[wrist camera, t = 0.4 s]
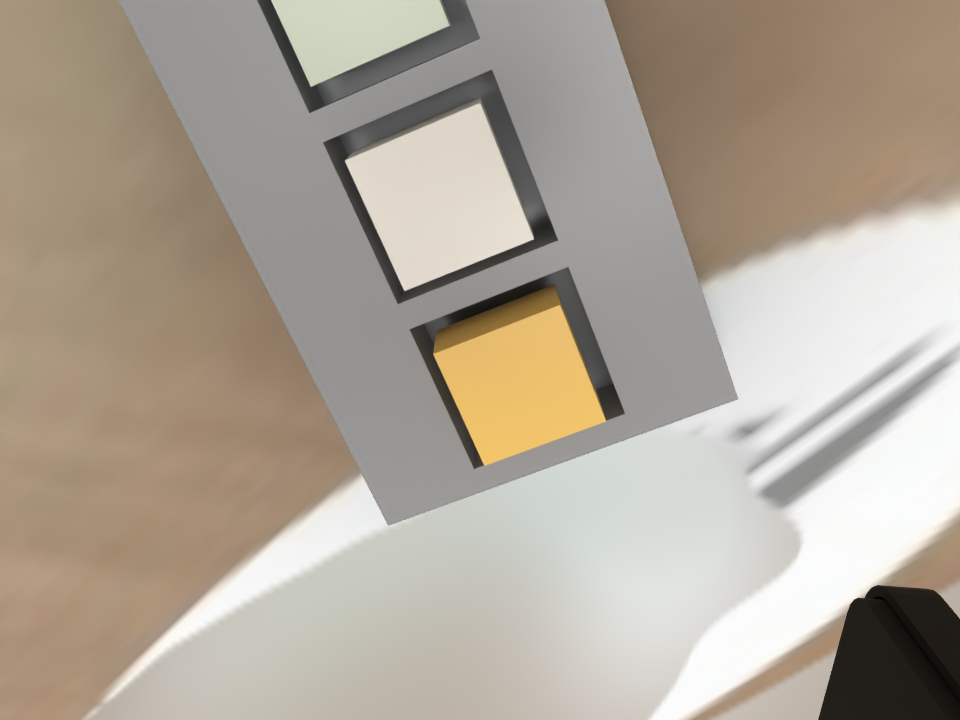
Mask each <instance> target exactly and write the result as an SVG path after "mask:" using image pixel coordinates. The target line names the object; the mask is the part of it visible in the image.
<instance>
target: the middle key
mask: <svg viewBox="0 0 960 720" xmlns="http://www.w3.org/2000/svg"><path fill="white" fill-rule="evenodd" d="M345 163H346V165H347V167H348V169H349V171H350V173H351V176H352V178H353V180H354V182H355V184H356V187H357V189H358V191H359V193H360V195H361V197H362V200H363V202H364V204H365V206H366V208H367V211H368V213H369V215H370V217H371V219H372V222H373V224H374V226H375V228H376V230H377V232H378V235H379V237H380V239H381V241H382V243H383V246H384V248H385V250H386V252H387V254H388V256H389V259H390V261H391V263H392V265H393V267H394V270H395V272H396V274H397V276H398V278H399V280H400V283H401V285H402V287H403V289H404V291H406V290H409V289H411V288H414V287H416V286H419V285H421V284H424V283H426V282H429V281H431V280H434V279H436V278H439V277H441V276H444V275H446V274H449V273H451V272H454V271H456V270H459V269H461V268H464V267H466V266H469V265H471V264H474V263H476V262H479V261H481V260H484V259H486V258H489V257H491V256H494V255H496V254H499V253H501V252H504V251H506V250H509V249H511V248H514V247H516V246H519V245H521V244H524V243H526V242H529V241H531V240H534V237H533V233H532V229H531V225H530V222H529V219H528V216H527V214H526V211H525V209H524V206H523V204H522V201H521V199H520V196H519V194H518V191H517V189H516V186H515V184H514V181H513V178H512V176H511V173H510V171H509V168H508V166H507V163H506V161H505V158H504V156H503V153H502V151H501V148H500V146H499V143H498V140H497V138H496V135H495V133H494V130H493V128H492V125H491V123H490V120H489V118H488V115H487V113H486V110H485V108H484V105H483V102H482V100H481V97H479V98H476V99H474V100H472V101H469V102H467V103H465V104H462V105H460V106H458V107H455V108H453V109H451V110H448V111H446V112H444V113H441V114H439V115H437V116H434V117H432V118H430V119H427V120H425V121H423V122H420V123H418V124H416V125H413V126H411V127H409V128H406V129H404V130H402V131H399V132H397V133H395V134H392V135H390V136H388V137H385V138H383V139H380V140H378V141H376V142H373V143H371V144H369V145H366V146H364V147H362V148H359V149H357V150H355V151H354V152H353V153H352V154H351V155H350V156H349V157H348V158H347V159H346V160H345Z"/></svg>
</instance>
